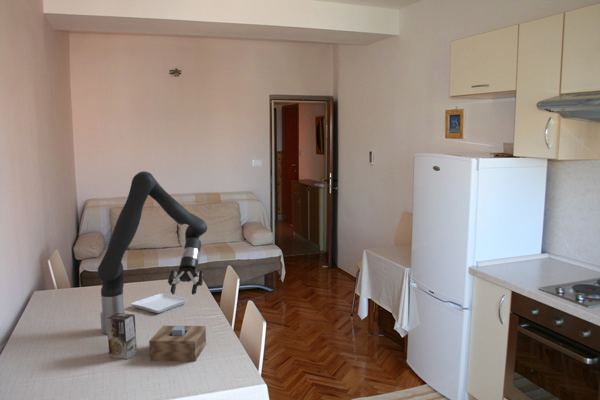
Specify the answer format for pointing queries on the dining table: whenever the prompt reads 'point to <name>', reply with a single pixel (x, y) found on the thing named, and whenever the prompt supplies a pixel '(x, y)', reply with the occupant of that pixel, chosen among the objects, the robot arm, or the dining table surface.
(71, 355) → the dining table surface
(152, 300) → the salad plate
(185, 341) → the wooden socket block
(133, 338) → the coffee box
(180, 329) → the slate peg
